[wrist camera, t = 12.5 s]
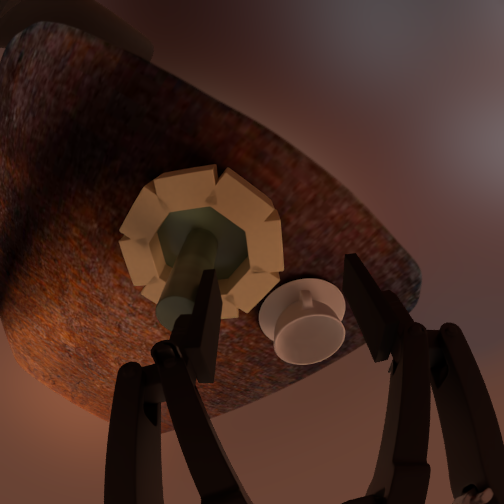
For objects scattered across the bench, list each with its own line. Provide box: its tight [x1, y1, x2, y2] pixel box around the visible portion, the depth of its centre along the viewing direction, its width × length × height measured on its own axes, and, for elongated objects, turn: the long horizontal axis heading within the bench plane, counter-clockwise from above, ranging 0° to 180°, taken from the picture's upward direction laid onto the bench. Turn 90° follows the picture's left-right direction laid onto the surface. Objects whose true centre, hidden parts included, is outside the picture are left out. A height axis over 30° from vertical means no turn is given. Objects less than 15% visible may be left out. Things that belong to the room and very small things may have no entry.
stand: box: [156, 206, 248, 331], centre depth 20 cm, size 9×9×12 cm
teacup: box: [259, 278, 345, 365], centre depth 28 cm, size 10×10×5 cm
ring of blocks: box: [119, 164, 284, 319], centre depth 23 cm, size 14×14×3 cm
